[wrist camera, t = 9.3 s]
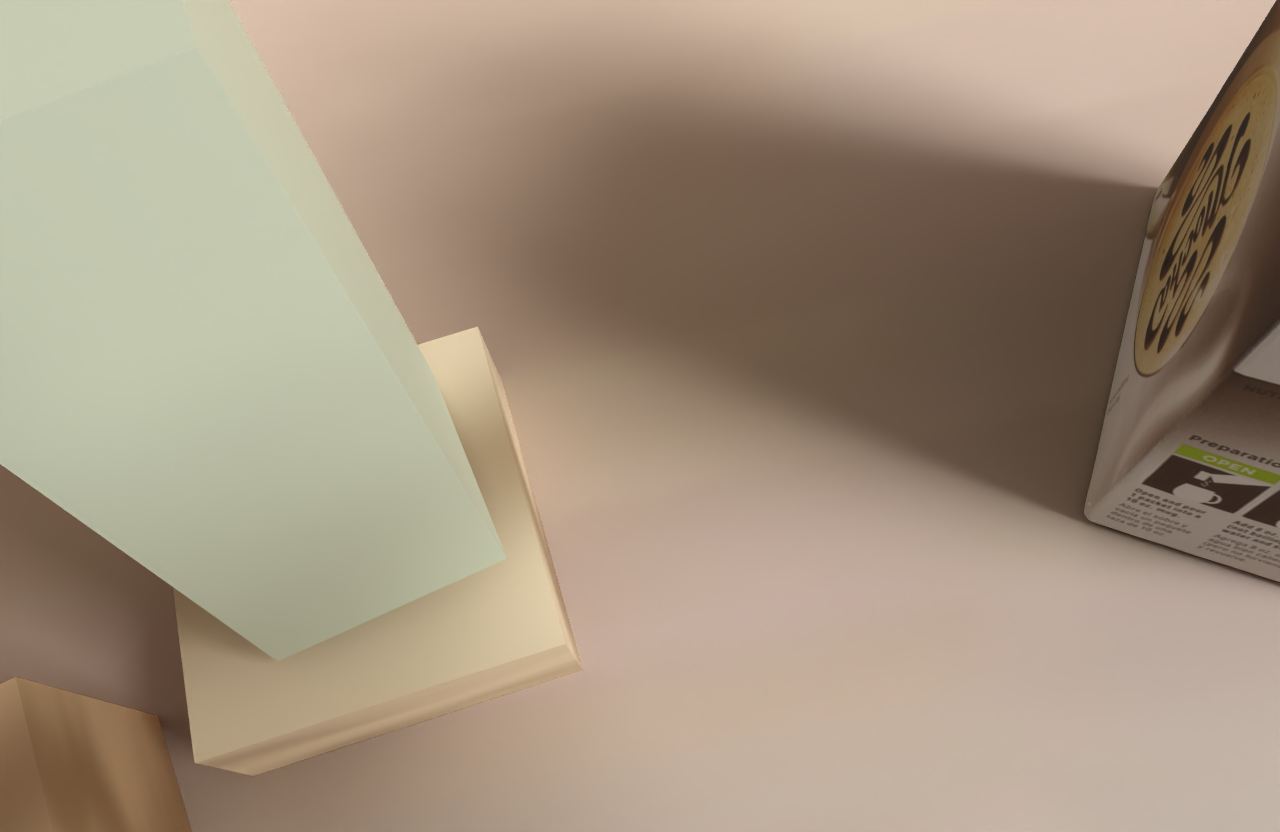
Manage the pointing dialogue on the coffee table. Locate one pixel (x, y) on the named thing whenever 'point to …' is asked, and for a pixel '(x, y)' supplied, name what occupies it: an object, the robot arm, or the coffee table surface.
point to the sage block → (211, 332)
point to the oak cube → (82, 765)
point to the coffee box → (1206, 341)
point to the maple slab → (396, 621)
